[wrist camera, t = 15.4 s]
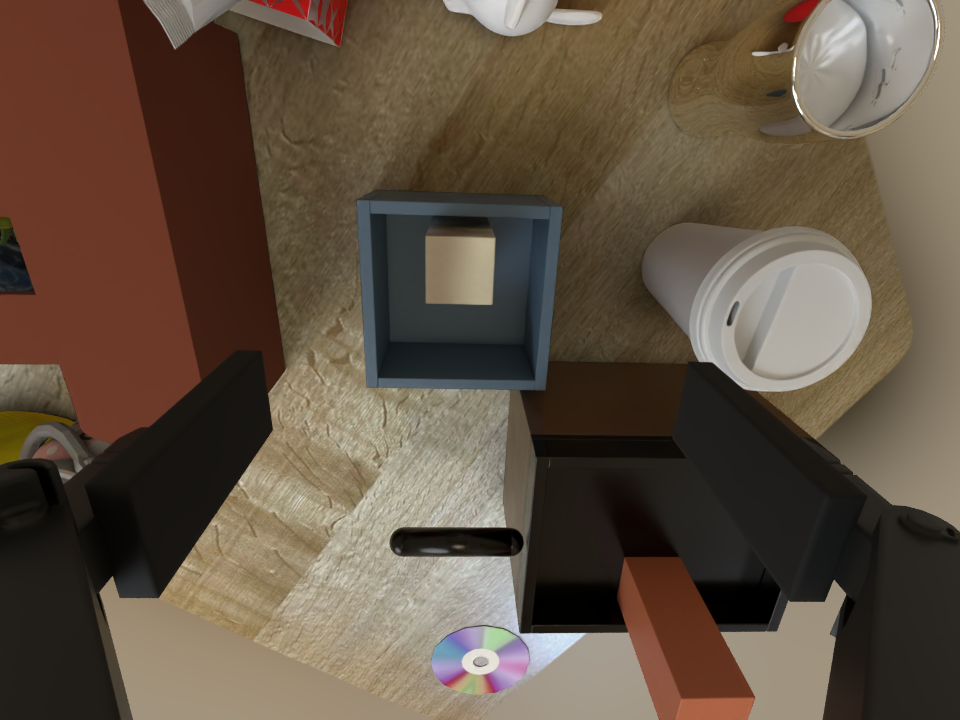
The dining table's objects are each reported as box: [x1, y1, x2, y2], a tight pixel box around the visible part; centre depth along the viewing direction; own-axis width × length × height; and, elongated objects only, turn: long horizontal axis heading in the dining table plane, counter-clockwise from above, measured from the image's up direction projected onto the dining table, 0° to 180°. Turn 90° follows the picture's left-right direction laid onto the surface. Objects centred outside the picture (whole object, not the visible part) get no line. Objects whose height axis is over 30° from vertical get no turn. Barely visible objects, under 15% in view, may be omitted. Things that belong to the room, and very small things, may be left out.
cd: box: [431, 626, 529, 695], centre depth 57 cm, size 11×11×1 cm
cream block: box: [425, 216, 496, 305], centre depth 34 cm, size 4×4×10 cm
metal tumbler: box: [668, 0, 944, 144], centre depth 29 cm, size 7×7×15 cm
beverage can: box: [19, 420, 112, 484], centre depth 38 cm, size 9×8×12 cm
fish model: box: [0, 238, 34, 291], centre depth 37 cm, size 7×21×5 cm, turn 54°
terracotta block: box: [617, 557, 755, 720], centre depth 32 cm, size 4×4×10 cm
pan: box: [390, 362, 840, 633], centre depth 40 cm, size 28×15×15 cm, turn 88°
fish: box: [0, 411, 74, 465], centre depth 42 cm, size 3×16×10 cm
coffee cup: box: [642, 223, 872, 392], centre depth 34 cm, size 10×10×15 cm
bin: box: [356, 190, 563, 391], centre depth 37 cm, size 13×13×8 cm
